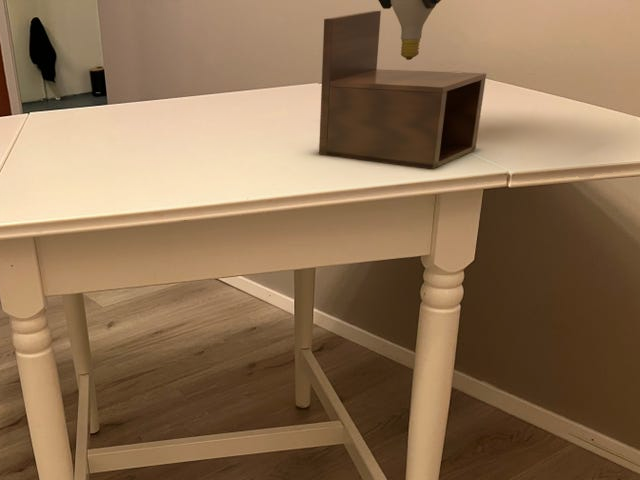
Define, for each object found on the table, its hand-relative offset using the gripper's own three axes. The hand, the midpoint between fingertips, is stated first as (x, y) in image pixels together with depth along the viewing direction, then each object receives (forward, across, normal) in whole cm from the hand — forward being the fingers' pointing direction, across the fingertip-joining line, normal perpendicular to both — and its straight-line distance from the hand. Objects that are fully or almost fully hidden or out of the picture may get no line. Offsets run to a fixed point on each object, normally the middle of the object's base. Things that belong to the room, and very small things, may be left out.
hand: (404, 3), depth 81 cm
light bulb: (+3, 0, +6) cm, 7 cm away
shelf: (+11, 0, +13) cm, 17 cm away
